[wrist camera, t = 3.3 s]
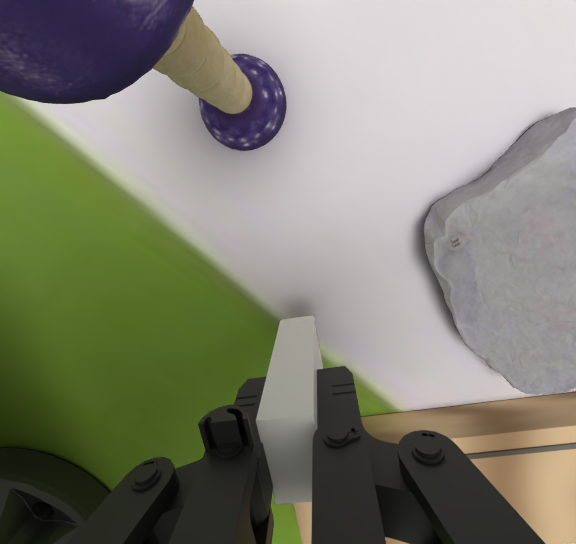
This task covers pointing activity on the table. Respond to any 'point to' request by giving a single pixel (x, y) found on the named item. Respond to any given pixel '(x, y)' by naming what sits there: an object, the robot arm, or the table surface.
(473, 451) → the oak board
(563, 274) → the stone block
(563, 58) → the table surface
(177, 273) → the table surface
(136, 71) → the toy lamp
